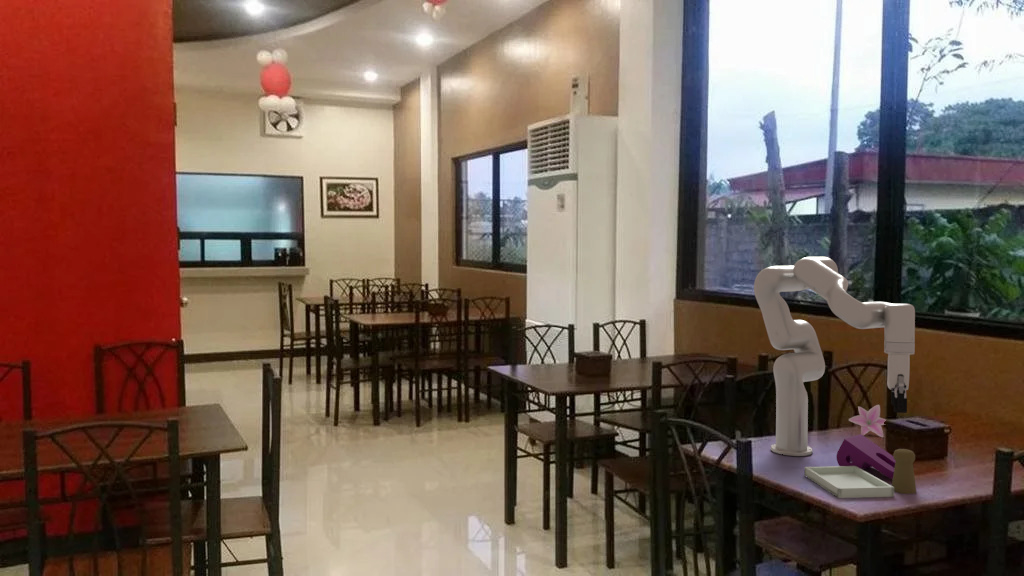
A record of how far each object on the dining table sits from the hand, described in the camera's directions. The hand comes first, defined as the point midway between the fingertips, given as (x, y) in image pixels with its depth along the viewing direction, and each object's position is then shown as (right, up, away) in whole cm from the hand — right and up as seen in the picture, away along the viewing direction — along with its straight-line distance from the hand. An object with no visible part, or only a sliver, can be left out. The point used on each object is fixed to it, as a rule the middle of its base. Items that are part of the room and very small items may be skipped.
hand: (898, 409), depth 212 cm
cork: (-3, -21, -8) cm, 22 cm away
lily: (+18, -18, +55) cm, 61 cm away
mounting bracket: (-3, -20, +8) cm, 22 cm away
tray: (-16, -20, -4) cm, 26 cm away
